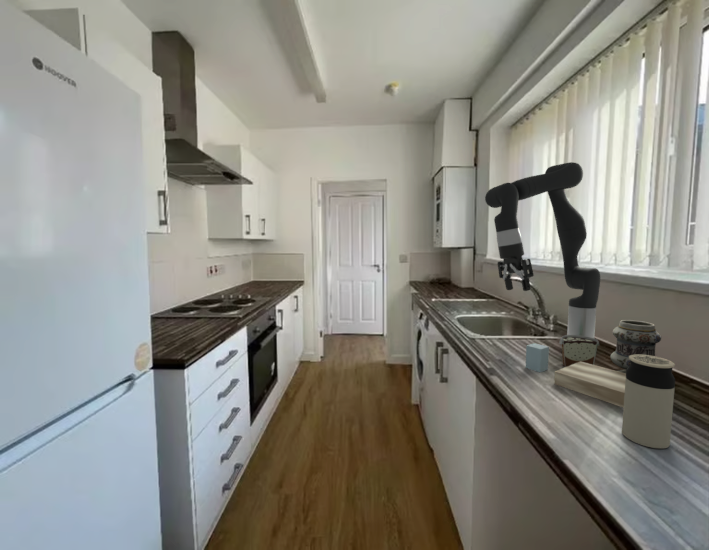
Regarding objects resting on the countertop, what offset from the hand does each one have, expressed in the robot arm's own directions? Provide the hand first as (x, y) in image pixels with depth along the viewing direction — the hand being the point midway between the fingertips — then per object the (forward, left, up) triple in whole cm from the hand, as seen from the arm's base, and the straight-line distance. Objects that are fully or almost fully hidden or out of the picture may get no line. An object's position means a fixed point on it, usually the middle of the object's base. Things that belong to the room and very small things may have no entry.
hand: (518, 290), depth 114 cm
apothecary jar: (-23, +26, -27) cm, 44 cm away
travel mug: (+16, +41, -27) cm, 52 cm away
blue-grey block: (-5, +5, -27) cm, 28 cm away
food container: (-20, +10, -27) cm, 35 cm away
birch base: (-5, +24, -27) cm, 36 cm away
